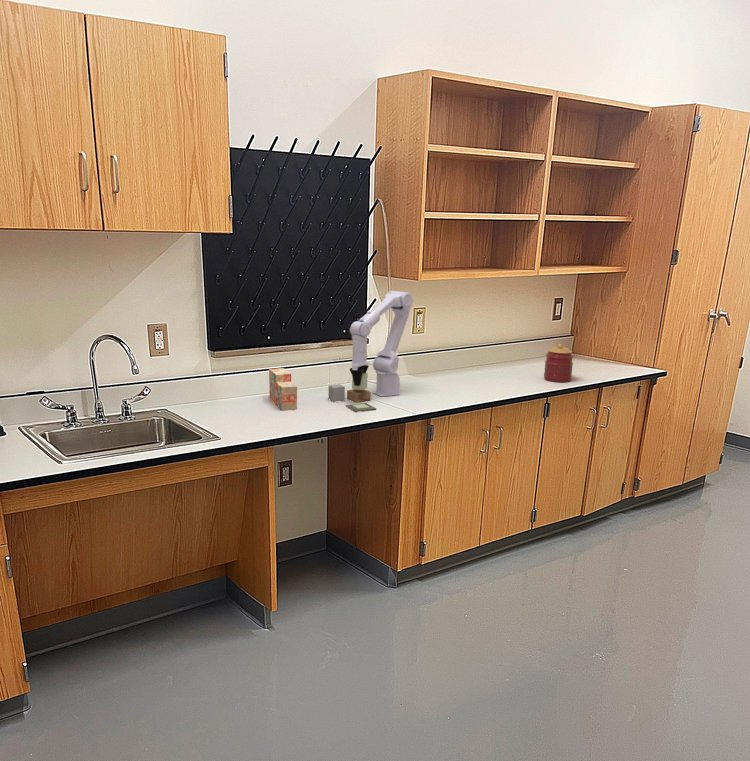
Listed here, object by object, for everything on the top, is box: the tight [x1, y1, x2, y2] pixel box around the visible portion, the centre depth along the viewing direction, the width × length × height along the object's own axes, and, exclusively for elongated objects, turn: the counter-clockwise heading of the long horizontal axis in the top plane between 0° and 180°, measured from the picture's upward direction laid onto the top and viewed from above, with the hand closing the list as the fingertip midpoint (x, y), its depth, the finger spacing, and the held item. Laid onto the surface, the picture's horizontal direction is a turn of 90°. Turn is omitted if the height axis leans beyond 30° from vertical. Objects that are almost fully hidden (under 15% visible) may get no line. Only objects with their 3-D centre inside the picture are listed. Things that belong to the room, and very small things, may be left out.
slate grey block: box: [328, 383, 346, 403], centre depth 276 cm, size 5×5×6 cm
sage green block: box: [351, 372, 368, 390], centre depth 276 cm, size 5×5×6 cm
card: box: [345, 402, 377, 413], centre depth 265 cm, size 9×9×1 cm
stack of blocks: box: [268, 367, 298, 411], centre depth 268 cm, size 21×6×12 cm, turn 21°
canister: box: [543, 343, 574, 383], centre depth 323 cm, size 13×13×18 cm
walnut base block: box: [346, 389, 372, 404], centre depth 277 cm, size 7×7×4 cm
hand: (359, 384), depth 276 cm, fingers closed on sage green block, 5 cm apart
